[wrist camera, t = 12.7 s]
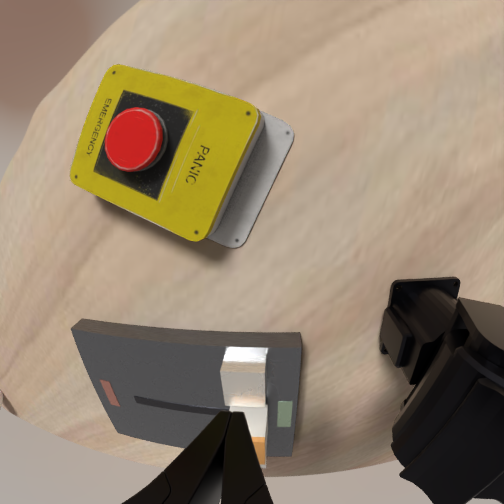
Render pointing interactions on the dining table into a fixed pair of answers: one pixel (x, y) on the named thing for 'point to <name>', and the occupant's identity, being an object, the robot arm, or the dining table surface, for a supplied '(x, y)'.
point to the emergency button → (179, 154)
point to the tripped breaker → (256, 428)
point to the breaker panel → (190, 379)
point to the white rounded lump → (1, 398)
